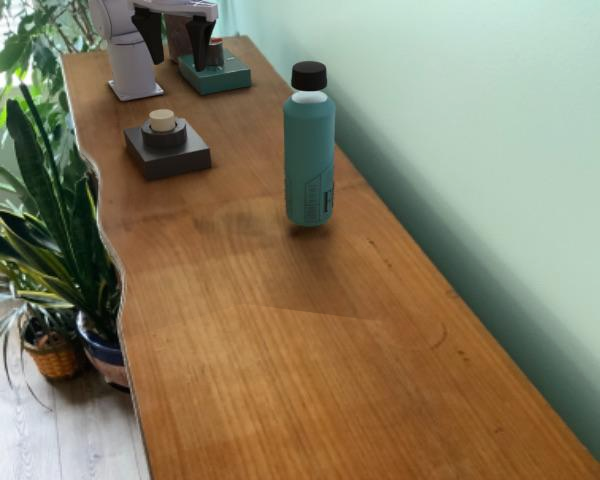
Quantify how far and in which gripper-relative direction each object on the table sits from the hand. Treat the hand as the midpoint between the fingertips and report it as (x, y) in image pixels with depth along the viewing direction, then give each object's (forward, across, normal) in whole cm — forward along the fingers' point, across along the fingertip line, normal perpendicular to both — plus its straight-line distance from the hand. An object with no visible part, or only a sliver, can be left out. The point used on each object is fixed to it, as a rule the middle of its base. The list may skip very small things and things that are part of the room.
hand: (179, 66), depth 99 cm
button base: (+9, -3, +11) cm, 15 cm away
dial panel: (+9, +6, -20) cm, 23 cm away
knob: (+6, +6, -20) cm, 22 cm away
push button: (+5, -3, +11) cm, 13 cm away
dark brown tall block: (+10, +16, -28) cm, 34 cm away
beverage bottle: (+10, -31, +20) cm, 38 cm away
